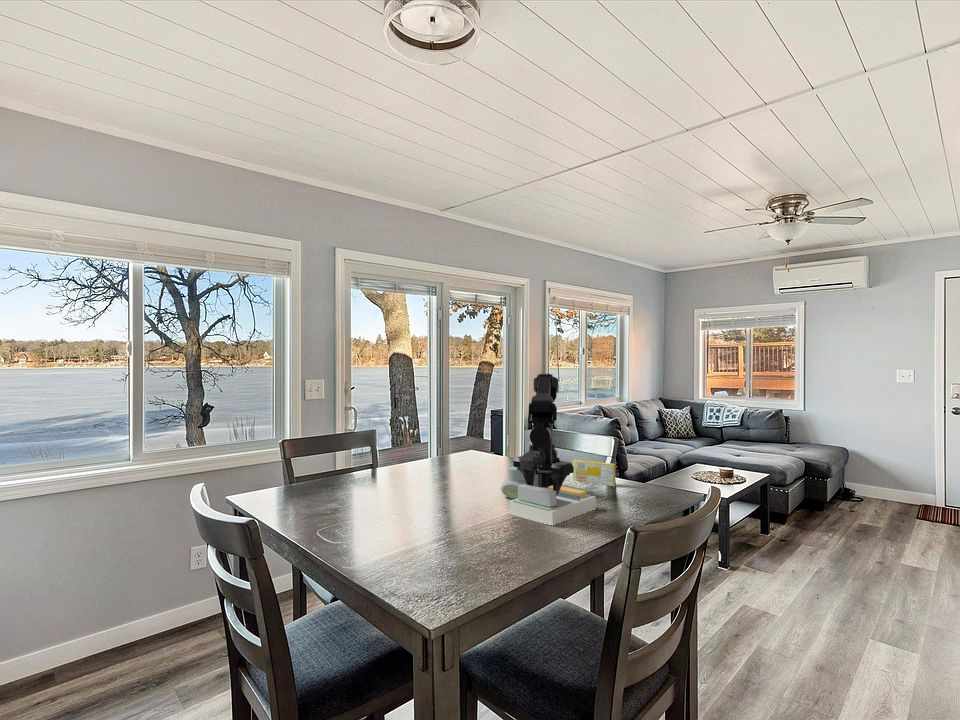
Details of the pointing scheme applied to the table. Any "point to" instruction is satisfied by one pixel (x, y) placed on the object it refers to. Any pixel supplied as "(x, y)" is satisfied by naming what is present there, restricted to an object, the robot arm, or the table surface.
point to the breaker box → (555, 507)
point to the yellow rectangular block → (572, 491)
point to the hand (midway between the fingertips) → (542, 494)
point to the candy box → (594, 472)
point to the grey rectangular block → (537, 495)
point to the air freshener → (512, 483)
